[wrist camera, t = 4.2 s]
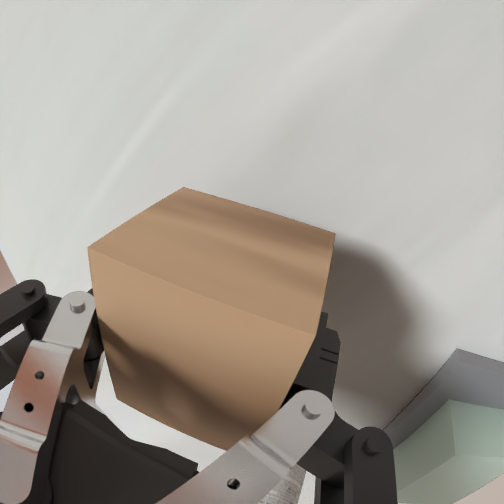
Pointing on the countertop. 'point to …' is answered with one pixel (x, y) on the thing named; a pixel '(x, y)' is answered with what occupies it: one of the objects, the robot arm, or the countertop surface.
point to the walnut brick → (208, 311)
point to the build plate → (455, 386)
